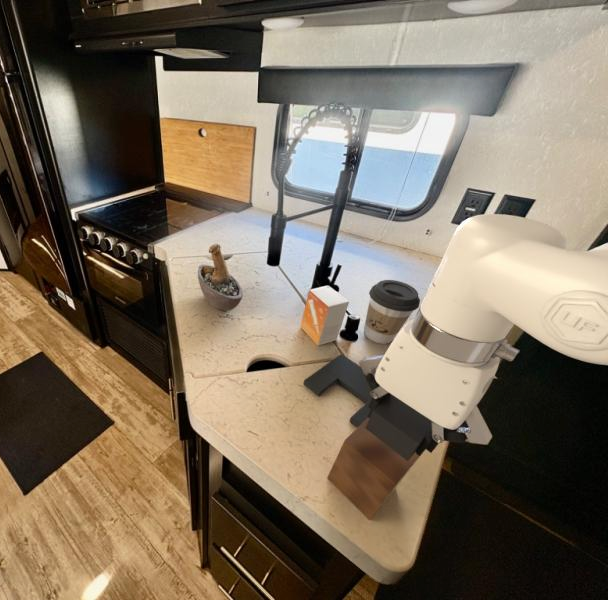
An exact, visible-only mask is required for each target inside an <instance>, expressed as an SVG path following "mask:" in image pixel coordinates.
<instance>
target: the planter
mask: <svg viewBox="0 0 608 600" xmlns="http://www.w3.org/2000/svg"><path fill="white" fill-rule="evenodd" d="M221 248H222V247H221V244H219V243H214V244H211V246H209V249H208V253H209V254H210V255H211V258H212V259H211V260H212V262H213V265H209V264H200V265H199V266H198V269H197V278H198V283H199V287H200V290H201V292H202V294H203V297H204V299H206V301H207V302H208V303H209V305H211V306H212V307H214V309H216V310H219V311H222V312H223V311H224V312H226V311H232V310H234V309H235V308H236V307H238V305H239V304H240V302H241V301H242V299H243V295H244V293H243V292H244V291H243V289H242V286H241V285H240V283H239V281H238V280H237V279H236V278H235V277H234V276H233V275H231V274H230V273H229V270H228V266H227V263H226V260H225V258H224V255H223V253H222V249H221Z"/></svg>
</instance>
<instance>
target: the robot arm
mask: <svg viewBox="0 0 608 600" xmlns="http://www.w3.org/2000/svg"><path fill="white" fill-rule="evenodd" d="M406 322H407V323H406ZM406 322H405V324H404V325H403V326H402V328H401V329H400V331H399V332H398V333H397V335H396V336H395V338H394V339H393V340H392V341H391V342H390V344H389V346H388V348H387V350H386V351H385V353H384V354H381V355H374V356H373V355H372V356H365V357H363V358H362V359H361V360H360V361H359V362H358V365H359V366H360V367H361V368H362V370H363V372H364V374H365V375H366V380H367V382H368V384H369V386H370V388H371V390H372V391H371V392H370V394H371V396H372V398H371V401H370V403H369V405H368V408H370V409H371V410H370V412H369V415H368V418H369V419H370V417H371V414H372V412H373V411H374V410H375V409H376V408H377V407H378V406H379V405H380V404H381V403H382V402H384V401H385V400H386V399H387V398H388V397H389V396H390V395H391V394H392V395H393V396H395V397H396V398H398V399H399V400H401V401H402V402H404V403H405V404H407V405H408V406H410V407H412V408H413V409H415V410H416V411H418V412H419V413H421V414H422V415H424V416H425V417H427V418H428V419H430V420H431V423H432V428H431V430H430V431H429V432H428V433H427V434H426V436H425V438H424V439H423V441H422V442H421V444H420V445H419V447H418V448H417V450H416V451H415V452H416V454H417V455H419V456H420V457H421V456H422V455H423V454H424V452H426V451H428V452H429V453H430V454H432V453H433V452H434V450H436V448H437V446H438V445H439V444H443V443H444V442H451V443H452V442H453V443H459V444H464V443H469V444H477V445H485V446H486V445H488V444H489V443H490V441H491V440H492V438H493V435H492V433H491V431H490V429H489V427H488V425H487V423H486V421H485V419H484V417H483V415H482V413H481V412H480V409H479V408H478V404H479V403H480V402H481V400H482V399H483V397H484V395H485V394H486V392H487V391H488V389H489V387H490V386H491V384H492V383H493V380H494V378H495V376H496V373H497V371H498V369H499V365H500V361H501V359H504V360H506V361H508V362H509V363H511V362H513V361H514V359H515V358H516V356H517V355H518V354H519V353H520V349H517V348H515V347H513V346H512V345H511V344H510V343H508V341H509V340H508V339H506V337H507V336H508V335H509V333H510V331H511V330H512V328H513V327H514V325H515V326H516V327H518V328H519V329H521V330H522V331H524V332H525V333H527V334H528V335H529V336H531V337H532V338H534V339H536V340H537V341H539V343H542V344H543V345H545V346H547V347H549V348H550V349H552V350H554V351H556V352H558V353H560V354H562V355H564V356H567V357H570V358H572V359H575V360H579V361H582V362H585V363H589V364H595V365H603V366H608V242H606V243H604V244H602V245H599V246H596V247H594V248H592V249H590V250H569V249H567V240H566V237H565V236H564V234H563V233H562V232H561V231H560V230H559V229H557V228H555V227H553V226H551V225H549V224H547V223H544V222H543V221H542V222H541V221H538V220H535V219H532V218H527V217H523V216H518V215H511V214H502V213H485V214H477V215H474V216H470V217H468V218H467V219H465V220H463V221H462V222H461V223H460V224H459V226H458V227H457V228H456V230H455V232H454V233H453V234H452V237H451V239H450V242H449V244H448V246H447V248H446V250H445V252H444V254H443V256H442V259H441V261H440V263H439V265H438V268H437V269H436V271H435V274H434V275H433V278H432V280H431V283H430V284H429V287H428V289H427V290H426V292H425V295H424V298H423V300H422V302H421V304H420V305H419V307H418V310H417V312H416V314H415V317H413V318H410V319H409V320H407V321H406ZM390 393H391V394H390ZM464 422H466V425H467V426H468V427H466V426H465V425H463V424H464Z"/></svg>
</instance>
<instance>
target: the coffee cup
mask: <svg viewBox="0 0 608 600" xmlns="http://www.w3.org/2000/svg"><path fill="white" fill-rule="evenodd" d="M368 294H369V301H368V307H367V313H366V318H365V322H364V327H363V333H364V336H366V338H367V339H369V341H372V342H373V343H377V344H381V345H385V344H391V343H392V342H393V340H394V339H395V337H396V336H397V334H398V333H399V332H400V330H401V329H402V328H403V327H404V326H405V324H406V322H408V319H409V318H410V316H411V315H412V313H413V312H414V311H416V310H417V309H419V308H420V305H421V304H420V303H421V299H420V297H419V292H418V291H417V290H416V288H414V287H413V286H411V285H410V284H408V283H406V282H404V281H398V280H394V279H383V280H380V281H379V282H377V283H375V284H374V285H372V286H371V289H370V290H369V292H368Z"/></svg>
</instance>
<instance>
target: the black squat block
mask: <svg viewBox="0 0 608 600" xmlns="http://www.w3.org/2000/svg"><path fill="white" fill-rule="evenodd" d="M365 428H366V429H367V430H368V431H370V432H371V433H372V434H373V435H375V436H376V437H377V438H379V439H380V440H381V441H382V442H384V443H385V444H386V445H388V446H389V447H390V448H391V449H393V450H394V451H395V452H396V453H398V454H399V455H400V456H402V457H403V458H404V459H405V460H407V461H408V460H409V459H410V458H411V457H412V456H413V454H414V453H415V451H416V450H417V448H418V447H419V445H420V444H421V442H422V441H423V439H424V438H425V436H426V434H427V433H428V432H429V431H430V430H431V428H432V423H431V420H430V419H428V418H427V417H425V416H424V415H422V414H421V413H419V412H418V411H416V410H415V409H413V408H412V407H410V406H408V405H407V404H405V403H404V402H402V401H401V400H399V399H398V398H396V397H395V396H393V395H392V394H391V395H390V396H389V397H388V398H387V399H386V400H385V401H384V402H382V403H381V404H380V405H379V406H378V407H377V408H376V409H375V410H374V411H373V412H372V414H371V417H370V419H369V421H368V423H367V425H366V427H365Z"/></svg>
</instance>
